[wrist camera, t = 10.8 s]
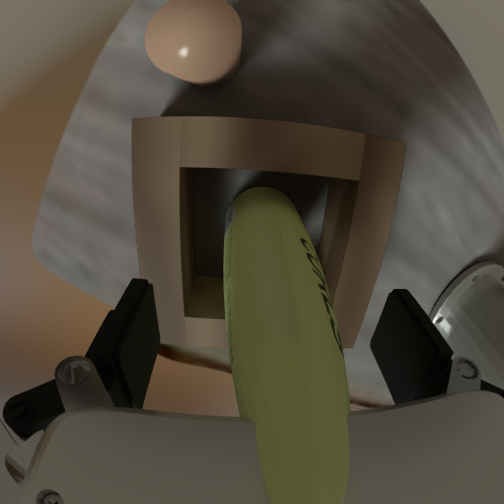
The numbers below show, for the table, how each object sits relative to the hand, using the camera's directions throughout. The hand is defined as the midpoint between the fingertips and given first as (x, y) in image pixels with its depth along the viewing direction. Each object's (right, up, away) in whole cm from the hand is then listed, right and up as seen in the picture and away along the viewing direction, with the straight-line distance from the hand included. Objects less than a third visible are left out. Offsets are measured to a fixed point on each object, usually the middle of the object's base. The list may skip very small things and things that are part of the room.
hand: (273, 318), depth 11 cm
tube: (0, +5, +9) cm, 11 cm away
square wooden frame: (0, +5, +9) cm, 10 cm away
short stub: (-4, +15, +4) cm, 16 cm away
